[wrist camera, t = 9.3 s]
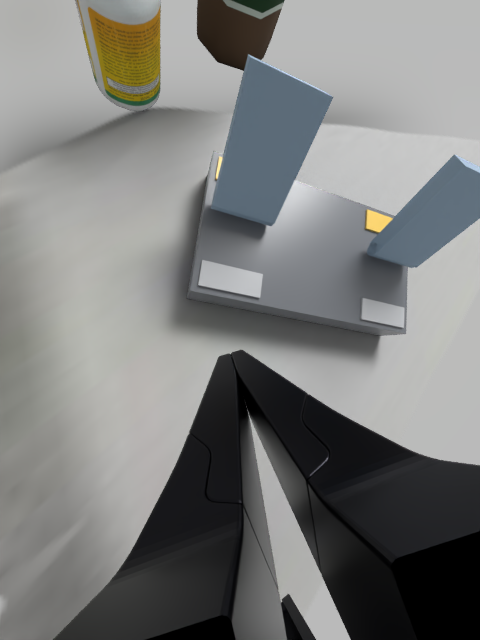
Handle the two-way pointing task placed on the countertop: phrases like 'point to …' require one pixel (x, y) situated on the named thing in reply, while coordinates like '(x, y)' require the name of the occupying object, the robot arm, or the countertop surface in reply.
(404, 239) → the upright blue panel
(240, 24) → the beer bottle
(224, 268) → the switch panel
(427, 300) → the countertop surface
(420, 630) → the robot arm
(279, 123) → the panel
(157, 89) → the supplement bottle
